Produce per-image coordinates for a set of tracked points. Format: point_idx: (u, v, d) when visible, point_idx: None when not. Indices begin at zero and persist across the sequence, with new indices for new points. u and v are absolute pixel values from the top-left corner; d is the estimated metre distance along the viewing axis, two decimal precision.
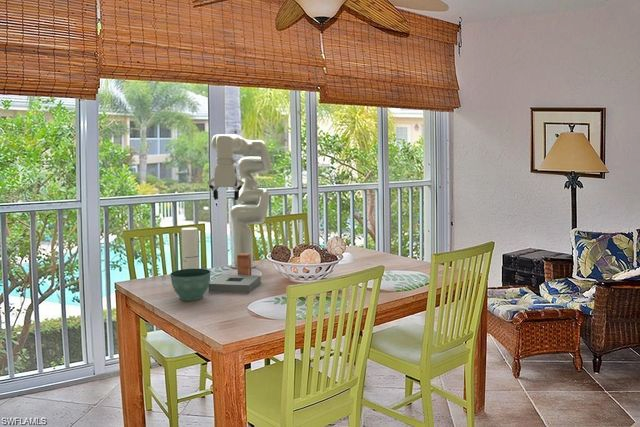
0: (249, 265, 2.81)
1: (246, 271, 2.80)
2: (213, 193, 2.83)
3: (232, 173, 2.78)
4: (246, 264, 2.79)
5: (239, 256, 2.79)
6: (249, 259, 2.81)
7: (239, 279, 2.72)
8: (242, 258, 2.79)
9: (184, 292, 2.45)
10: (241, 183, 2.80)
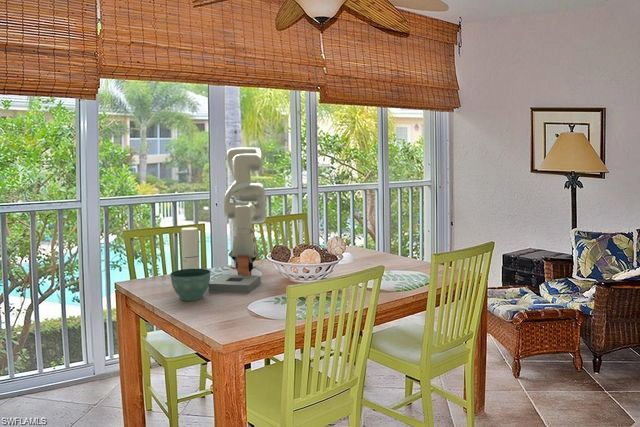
0: None
1: (246, 271, 2.80)
2: (236, 264, 2.82)
3: (251, 243, 2.78)
4: (246, 264, 2.79)
5: (239, 256, 2.79)
6: None
7: (239, 279, 2.72)
8: (242, 258, 2.79)
9: (184, 292, 2.45)
10: (256, 256, 2.80)
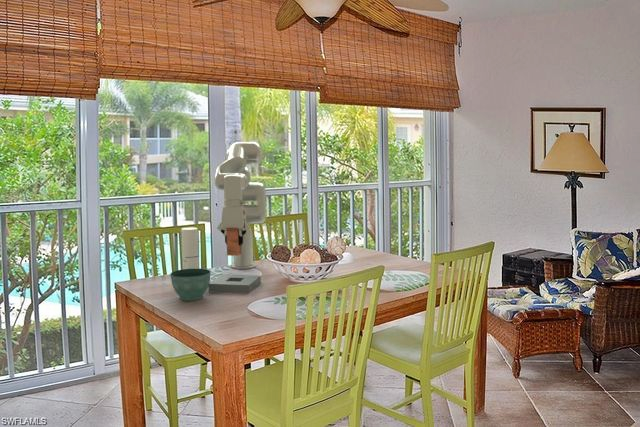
0: None
1: (236, 244, 2.64)
2: (225, 238, 2.66)
3: (241, 215, 2.62)
4: (236, 237, 2.64)
5: (228, 229, 2.64)
6: None
7: (239, 279, 2.72)
8: (231, 231, 2.64)
9: (184, 292, 2.45)
10: (247, 229, 2.64)
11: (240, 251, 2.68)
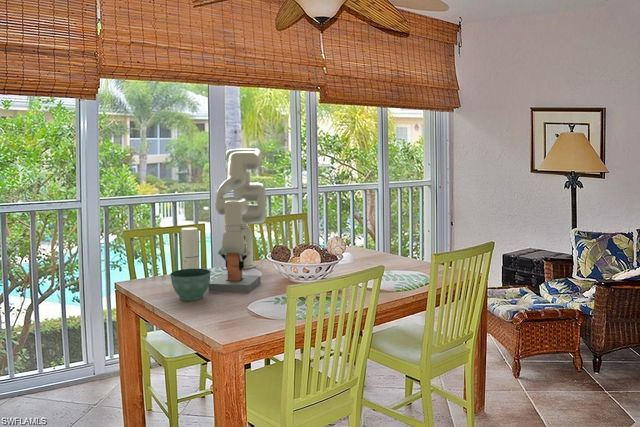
0: None
1: (236, 269, 2.65)
2: None
3: (241, 240, 2.64)
4: (236, 262, 2.65)
5: (229, 254, 2.65)
6: None
7: None
8: (232, 256, 2.65)
9: (184, 292, 2.45)
10: (247, 254, 2.66)
11: (241, 276, 2.69)
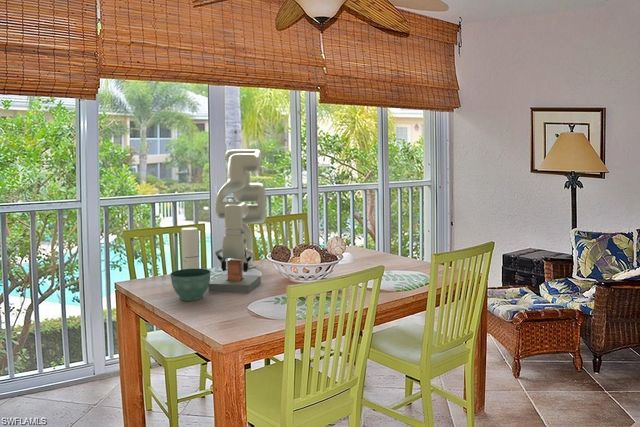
0: (240, 272, 2.68)
1: (237, 278, 2.66)
2: (221, 264, 2.68)
3: (241, 244, 2.64)
4: (236, 271, 2.66)
5: (229, 262, 2.66)
6: (240, 266, 2.68)
7: None
8: (232, 265, 2.66)
9: (184, 292, 2.45)
10: (251, 254, 2.65)
11: None
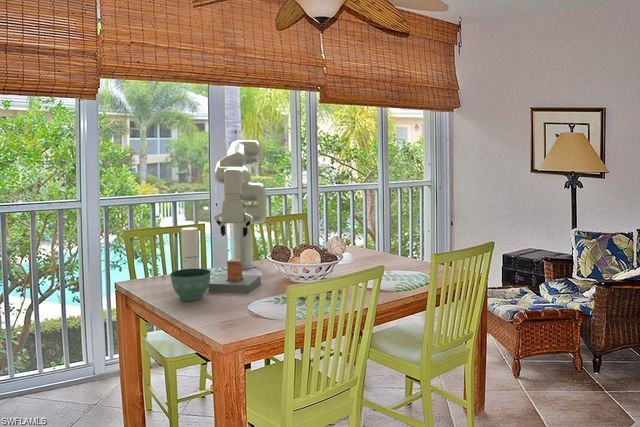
0: (240, 272, 2.68)
1: (237, 278, 2.66)
2: None
3: (240, 209, 2.64)
4: (236, 271, 2.66)
5: (229, 262, 2.66)
6: (240, 266, 2.68)
7: None
8: (232, 265, 2.66)
9: (184, 292, 2.45)
10: (250, 219, 2.66)
11: None
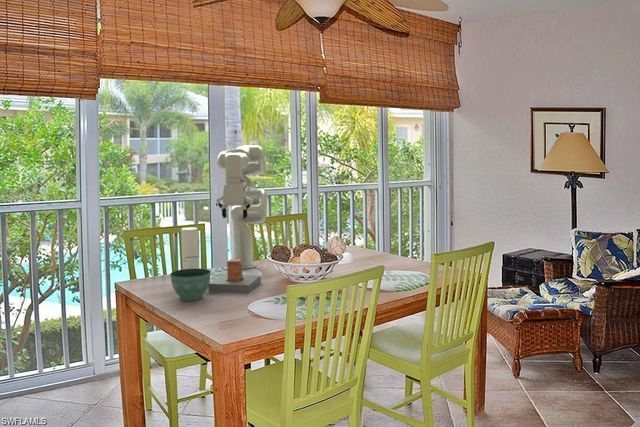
0: (240, 272, 2.68)
1: (237, 278, 2.66)
2: (222, 211, 2.83)
3: (241, 192, 2.79)
4: (236, 271, 2.66)
5: (229, 262, 2.66)
6: (240, 266, 2.68)
7: None
8: (232, 265, 2.66)
9: (184, 292, 2.45)
10: (250, 202, 2.80)
11: None
